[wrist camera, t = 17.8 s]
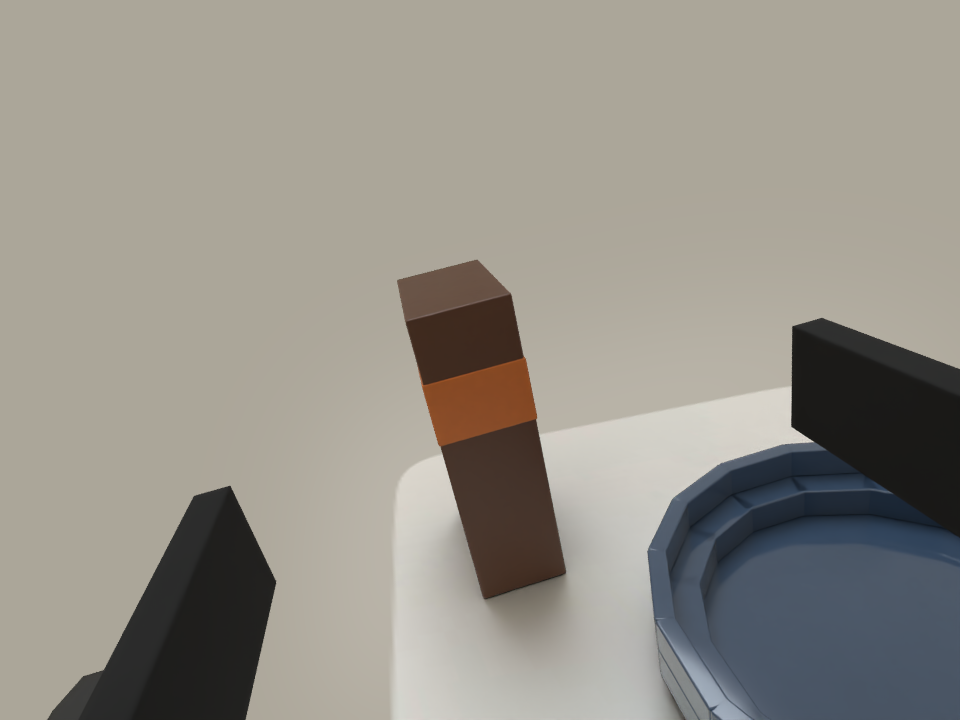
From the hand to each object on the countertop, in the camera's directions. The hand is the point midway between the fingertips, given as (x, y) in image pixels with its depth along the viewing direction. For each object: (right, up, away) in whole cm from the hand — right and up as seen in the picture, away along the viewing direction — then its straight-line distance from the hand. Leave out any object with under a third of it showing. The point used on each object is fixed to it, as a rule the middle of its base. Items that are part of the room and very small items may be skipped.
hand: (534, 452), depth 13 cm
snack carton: (0, -6, +12) cm, 14 cm away
